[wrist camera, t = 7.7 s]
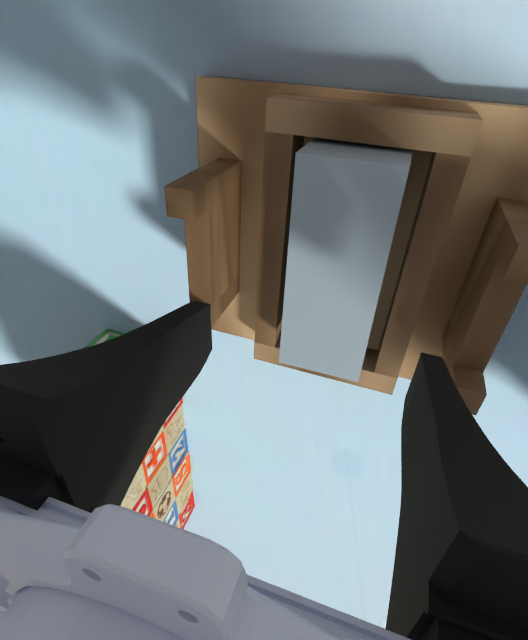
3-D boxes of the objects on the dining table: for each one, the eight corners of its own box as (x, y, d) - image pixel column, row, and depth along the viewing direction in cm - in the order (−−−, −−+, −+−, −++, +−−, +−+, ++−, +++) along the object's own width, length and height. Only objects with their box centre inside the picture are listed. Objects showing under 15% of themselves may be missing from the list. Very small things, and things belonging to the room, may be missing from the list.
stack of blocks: (197, 505, 42) (128, 644, 32) (144, 487, 43) (63, 614, 34) (177, 343, 30) (55, 487, 20) (104, 325, 31) (-41, 451, 21)
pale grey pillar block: (413, 144, 17) (409, 166, 14) (368, 335, 22) (358, 382, 19) (319, 133, 18) (295, 153, 15) (298, 320, 23) (278, 362, 20)
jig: (593, 111, 15) (671, 142, 10) (466, 382, 23) (475, 471, 18) (205, 75, 19) (127, 86, 14) (211, 319, 27) (164, 379, 22)
